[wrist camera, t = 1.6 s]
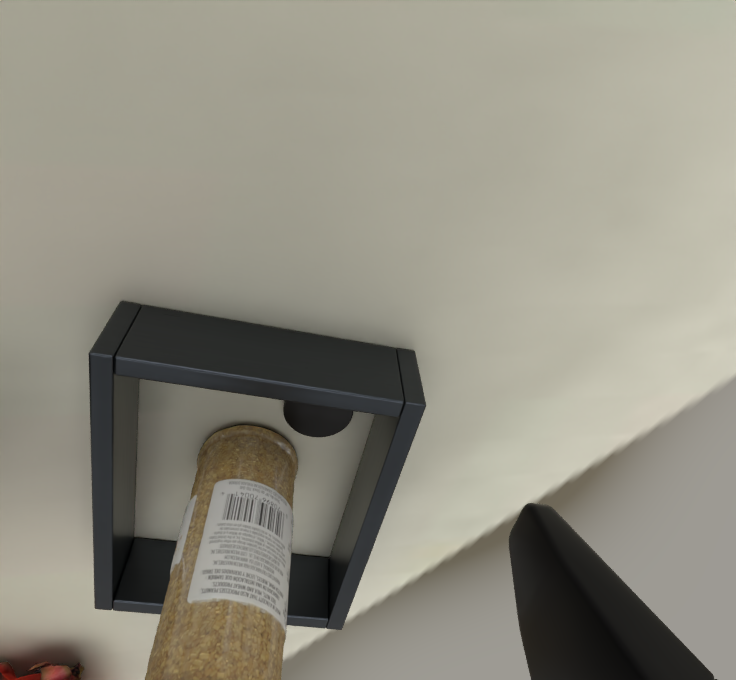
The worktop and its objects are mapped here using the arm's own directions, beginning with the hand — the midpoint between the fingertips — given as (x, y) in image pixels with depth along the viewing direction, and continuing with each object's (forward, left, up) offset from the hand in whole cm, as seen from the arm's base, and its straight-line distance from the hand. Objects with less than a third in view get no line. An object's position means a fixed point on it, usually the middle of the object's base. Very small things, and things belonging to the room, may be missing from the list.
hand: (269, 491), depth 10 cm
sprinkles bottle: (-10, -7, -13) cm, 18 cm away
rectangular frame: (-10, -7, -13) cm, 18 cm away
